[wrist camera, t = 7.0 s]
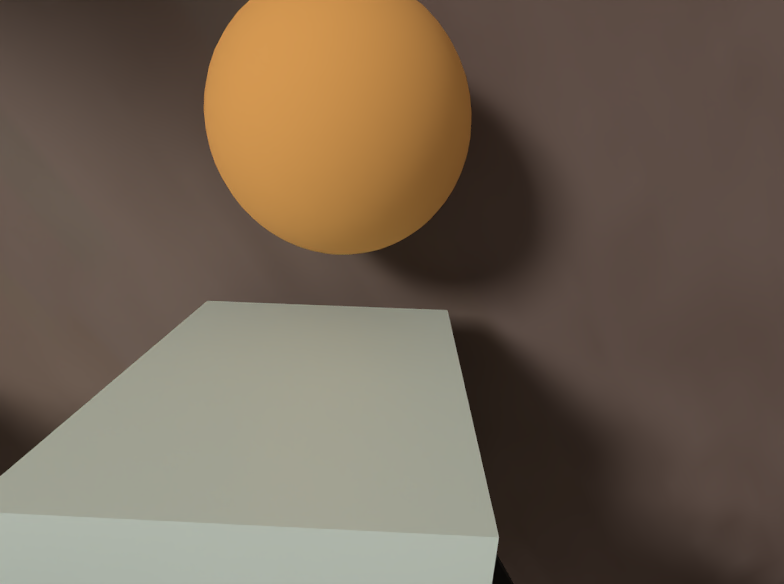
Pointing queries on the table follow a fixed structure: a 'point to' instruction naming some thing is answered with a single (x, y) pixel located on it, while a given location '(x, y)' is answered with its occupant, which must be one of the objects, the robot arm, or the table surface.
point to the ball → (338, 119)
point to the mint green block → (263, 460)
